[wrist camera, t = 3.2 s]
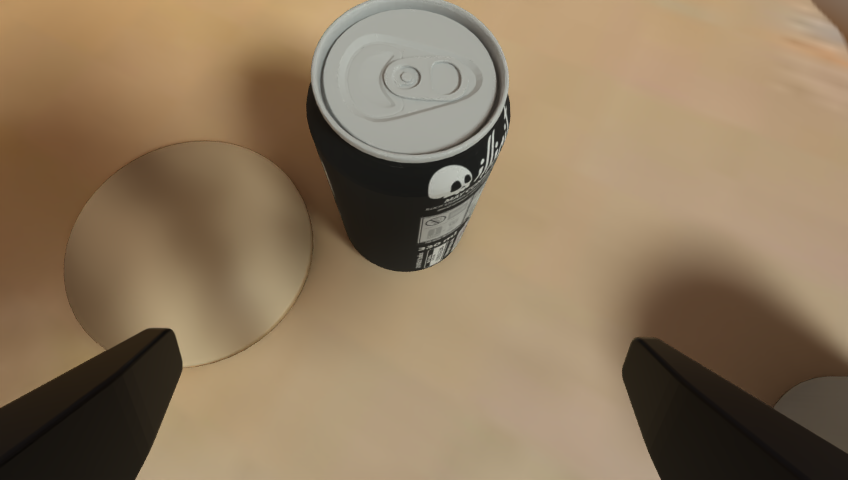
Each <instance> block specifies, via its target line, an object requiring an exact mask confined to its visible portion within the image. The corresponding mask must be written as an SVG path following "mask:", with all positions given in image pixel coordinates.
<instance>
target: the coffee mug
mask: <svg viewBox="0 0 848 480" xmlns="http://www.w3.org/2000/svg"><path fill="white" fill-rule="evenodd" d="M773 409H775V410H777V411H778V412H780V413H782V414H783V415H785V416H787V417H788V418H790V419H792V420H793V421H795V422H797V423H798V424H800V425H801V426H803V427H805V428H806V429H808V430H810V431H811V432H813V433H815V434H816V435H818V436H820V437H821V438H823V439H825V440H826V441H828V442H830V443H831V444H833V445H835V446H836V447H838V448H840V449H841V450H843V451H844V452H846V453H848V377H819V378H813V379H810V380H808V381H805V382H802V383H800V384H798V385H796V386H795V387H793V388H792V389H790V390H789V391H788V392H787V393H786V394H784V395H783V396H782V397H781V398H780V400H779V401H778V402H777V403H776V405H775V406H774V408H773Z"/></svg>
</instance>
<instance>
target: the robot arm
mask: <svg viewBox="0 0 848 480" xmlns="http://www.w3.org/2000/svg"><path fill="white" fill-rule="evenodd" d="M182 367H183V361H182V357H181V353H180V350H179V346H178V342H177V339H176V335H175V333H174V331H173V330H172V329H170V328H147V329H145V330H143V331H141V332H139V333H138V334H136V335H134V336H132V337H130V338H128V339H127V340H125V341H123V342H121V343H119V344H117V345H116V346H114V347H112V348H110V349H108V350H106V351H104V352H103V353H101V354H99V355H97V356H95V357H93V358H92V359H90V360H88V361H86V362H84V363H82V364H81V365H79V366H77V367H75V368H73V369H71V370H69V371H68V372H66V373H64V374H62V375H60V376H58V377H57V378H55V379H53V380H51V381H49V382H47V383H46V384H44V385H42V386H40V387H38V388H36V389H34V390H33V391H31V392H29V393H27V394H25V395H23V396H22V397H20V398H18V399H16V400H14V401H12V402H11V403H9V404H7V405H5V406H3V407H1V408H0V480H135V479H136V477H137V475H138V473H139V471H140V469H141V467H142V466H143V464H144V462H145V460H146V458H147V456H148V454H149V452H150V449H151V447H152V445H153V443H154V440H155V438H156V436H157V433H158V430H159V428H160V425H161V423H162V420H163V418H164V415H165V413H166V410H167V408H168V405H169V403H170V400H171V398H172V395H173V393H174V390H175V388H176V385H177V383H178V380H179V378H180V375H181V372H182ZM622 377H623V381H624V384H625V387H626V390H627V393H628V396H629V398H630V401H631V404H632V407H633V410H634V413H635V416H636V419H637V421H638V424H639V427H640V430H641V433H642V436H643V439H644V441H645V444H646V447H647V449H648V452H649V454H650V456H651V459H652V461H653V463H654V466H655V468H656V470H657V472H658V474H659V476H660V479H661V480H848V453H846V452H844V451H843V450H841V449H840V448H838V447H836V446H835V445H833V444H831V443H830V442H828V441H826V440H825V439H823V438H821V437H820V436H818V435H816V434H815V433H813V432H811V431H810V430H808V429H806V428H805V427H803V426H801V425H800V424H798V423H797V422H795V421H793V420H792V419H790V418H788V417H787V416H785V415H783V414H782V413H780V412H778V411H777V410H775V409H773V408H772V407H770V406H768V405H767V404H765V403H763V402H762V401H760V400H759V399H757V398H755V397H754V396H752V395H750V394H749V393H747V392H745V391H744V390H742V389H740V388H739V387H737V386H735V385H734V384H732V383H730V382H729V381H727V380H725V379H724V378H722V377H720V376H719V375H717V374H716V373H714V372H712V371H711V370H709V369H707V368H706V367H704V366H702V365H701V364H699V363H697V362H696V361H694V360H692V359H691V358H689V357H687V356H686V355H684V354H683V353H681V352H679V351H678V350H676V349H674V348H673V347H671V346H669V345H668V344H666V343H664V342H663V341H661V340H659V339H657V338H654V337H637V338H634V339H633V340H632V342H631V344H630V347H629V350H628V353H627V356H626V359H625V362H624V364H623V368H622Z"/></svg>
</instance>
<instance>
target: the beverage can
mask: <svg viewBox="0 0 848 480" xmlns="http://www.w3.org/2000/svg"><path fill="white" fill-rule="evenodd" d="M508 87H509V75H508V67H507V63H506V59H505V56H504V54H503V51H502V49H501V47H500V45H499V43H498V41H497V40H496V38H495V37H494V36H493V34H492V33H491V31H490V30H489V29H488V28H487V27H486V26H485V25H484V24H483V23H482V22H481V21H480V20H478V19H477V18H476V17H475V16H473V15H472V14H471V13H469V12H467V11H466V10H464V9H462V8H460V7H458V6H457V5H454V4H452V3H449V2H446V1H444V0H369V1H366V2H364V3H361V4H359V5H357V6H355V7H353V8H351V9H350V10H348V11H346V12H345V13H344V14H343V15H341V16H340V17H339V18H337V19H336V20H335V21H334V22H333V23H332V24H331V25H330V26H329V27H328V28H327V30H326V31H325V32H324V34H323V36H322V37H321V39H320V41H319V42H318V45H317V47H316V49H315V52H314V55H313V60H312V66H311V83H310V86H309V90H308V96H307V103H306V107H307V120H308V125H309V128H310V132H311V135H312V137H313V140H314V143H315V146H316V149H317V151H318V154H319V157H320V160H321V162H322V165H323V168H324V171H325V173H326V176H327V179H328V182H329V185H330V187H331V190H332V193H333V196H334V198H335V201H336V204H337V207H338V209H339V212H340V215H341V218H342V220H343V223H344V226H345V229H346V232H347V234H348V237H349V239H350V240H351V242H352V244H353V245H354V247H355V248H356V249H357V250H358V252H359V253H360V254H361V255H363V256H364V257H365V258H366V259H367V260H369V261H370V262H372V263H374V264H376V265H378V266H380V267H382V268H385V269H389V270H393V271H401V272H410V271H418V270H422V269H425V268H428V267H431V266H433V265H435V264H437V263H439V262H440V261H442V260H443V259H444V258H446V257H447V256H448V255H449V254H450V253H451V252H452V251H453V250H454V248H455V247H456V246H457V244H458V242H459V241H460V239H461V237H462V234H463V232H464V230H465V228H466V226H467V223H468V221H469V219H470V217H471V215H472V212H473V210H474V208H475V206H476V203H477V201H478V199H479V197H480V195H481V192H482V190H483V188H484V186H485V184H486V181H487V179H488V177H489V175H490V173H491V170H492V168H493V166H494V164H495V162H496V159H497V157H498V155H499V153H500V151H501V148H502V146H503V144H504V142H505V139H506V136H507V133H508V129H509V123H510V101H509V96H508Z"/></svg>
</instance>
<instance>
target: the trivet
mask: <svg viewBox="0 0 848 480" xmlns="http://www.w3.org/2000/svg"><path fill="white" fill-rule="evenodd" d="M312 252H313V233H312V227H311V221H310V217H309V214H308V211H307V208H306V206H305V204H304V202H303V200H302V197H301V196H300V194H299V192H298V190H297V189H296V187H295V186H294V184H293V183H292V181H291V180H290V179H289V178H288V176H287V175H286V174H285V173H284V172H283V171H282V170H281V169H280V168H279V167H277V166H276V165H275V164H274V163H273V162H271V161H270V160H268V159H267V158H265V157H264V156H262V155H260V154H258V153H256V152H254V151H252V150H249V149H247V148H244V147H241V146H237V145H234V144H229V143H223V142H213V141H197V142H187V143H180V144H175V145H171V146H167V147H164V148H161V149H158V150H155V151H153V152H150V153H147V154H145V155H143V156H142V157H140V158H138V159H136V160H134V161H132V162H130V163H129V164H127V165H126V166H124V167H123V168H121V169H120V170H118V171H117V172H116V173H115V174H114V175H112V176H111V177H110V178H109V179H107V180H106V181H105V182H104V183H103V184H102V185H101V186H100V187H99V188H98V189H97V190H96V192H95V193H94V194H93V195H92V197H91V198H90V199H89V200H88V202H87V203H86V205H85V206H84V208H83V209H82V211H81V213H80V214H79V216H78V218H77V220H76V222H75V224H74V226H73V229H72V231H71V234H70V237H69V240H68V243H67V248H66V253H65V259H64V281H65V289H66V293H67V297H68V300H69V304H70V306H71V308H72V310H73V313H74V315H75V317H76V319H77V320H78V322H79V323H80V325H81V326H82V327H83V329H84V330H85V331H86V332H87V334H88V335H89V336H90V337H91V338H92V339H93V340H94V341H95V342H97V343H98V344H99V345H101V346H102V347H103V348H105V349H106V350H108V349H110V348H112V347H114V346H116V345H117V344H119V343H121V342H123V341H125V340H127V339H128V338H130V337H132V336H134V335H136V334H138V333H139V332H141V331H143V330H145V329H147V328H170V329H172V330H173V331H174V333H175V335H176V339H177V342H178V346H179V350H180V353H181V357H182V361H183V367H182V368H185V367H197V366H202V365H206V364H211V363H215V362H218V361H220V360H223V359H226V358H229V357H231V356H233V355H235V354H237V353H239V352H242V351H244V350H246V349H247V348H249V347H250V346H252V345H253V344H255V343H256V342H258V341H259V340H261V339H262V338H263V337H264V336H266V335H267V334H268V333H269V332H270V331H272V330H273V329H274V328H275V327H276V326H277V325H278V323H279V322H280V321H281V320H282V319H283V318H284V317H285V316H286V314H287V313H288V312H289V310H290V309H291V308H292V306H293V305H294V303H295V302H296V300H297V298H298V296H299V294H300V293H301V291H302V289H303V286H304V284H305V281H306V279H307V276H308V272H309V269H310V265H311V259H312Z"/></svg>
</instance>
